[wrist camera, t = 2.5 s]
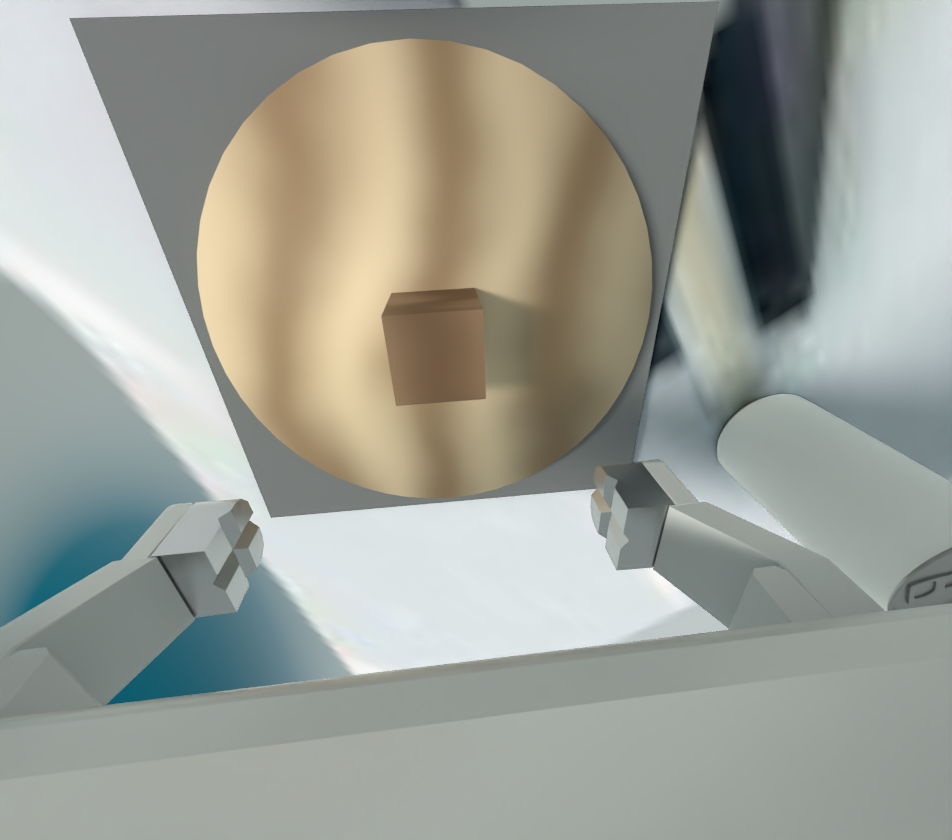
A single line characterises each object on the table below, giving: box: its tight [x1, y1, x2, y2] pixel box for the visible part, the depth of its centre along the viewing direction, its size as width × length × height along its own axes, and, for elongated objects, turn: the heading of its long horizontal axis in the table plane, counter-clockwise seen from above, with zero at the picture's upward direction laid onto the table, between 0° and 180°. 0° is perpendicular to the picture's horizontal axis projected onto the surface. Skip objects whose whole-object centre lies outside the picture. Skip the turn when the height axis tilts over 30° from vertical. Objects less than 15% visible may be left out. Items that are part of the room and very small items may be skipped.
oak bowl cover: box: [197, 39, 652, 498], centre depth 19 cm, size 22×22×5 cm
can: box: [717, 394, 952, 611], centre depth 22 cm, size 6×6×12 cm
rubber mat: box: [70, 1, 719, 518], centre depth 21 cm, size 24×24×1 cm
